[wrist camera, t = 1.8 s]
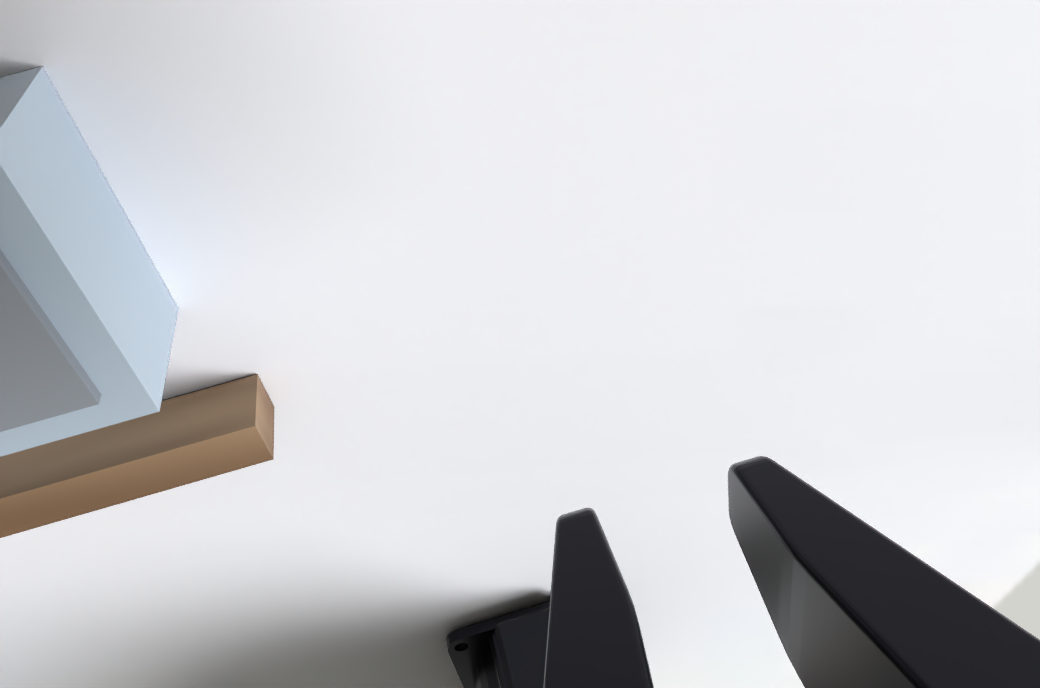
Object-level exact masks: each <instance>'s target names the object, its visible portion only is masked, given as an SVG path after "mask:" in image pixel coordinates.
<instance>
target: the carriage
mask: <svg viewBox="0 0 1040 688" xmlns="http://www.w3.org/2000/svg"><path fill="white" fill-rule="evenodd" d="M177 313H178V306H177V304H176V302H175V301H174V299H173V297H172V295H171V293H170V292H169V290H168V288H167V286H166V285H165V283H164V281H163V279H162V277H161V276H160V274H159V272H158V270H157V269H156V267H155V265H154V263H153V261H152V260H151V258H150V256H149V254H148V253H147V251H146V249H145V247H144V245H143V244H142V242H141V240H140V238H139V236H138V235H137V233H136V231H135V229H134V228H133V226H132V224H131V222H130V220H129V219H128V217H127V215H126V213H125V212H124V210H123V208H122V206H121V204H120V203H119V201H118V199H117V197H116V195H115V194H114V192H113V190H112V188H111V187H110V185H109V183H108V181H107V179H106V178H105V176H104V174H103V172H102V171H101V169H100V167H99V165H98V163H97V162H96V160H95V158H94V156H93V155H92V153H91V151H90V149H89V147H88V146H87V144H86V142H85V140H84V138H83V137H82V135H81V133H80V131H79V130H78V128H77V126H76V124H75V122H74V121H73V119H72V117H71V115H70V114H69V112H68V110H67V108H66V106H65V105H64V103H63V101H62V99H61V98H60V96H59V94H58V92H57V90H56V89H55V87H54V85H53V83H52V81H51V80H50V78H49V76H48V74H47V73H46V71H45V69H44V67H43V66H41V67H37V68H34V69H30V70H26V71H22V72H18V73H14V74H10V75H6V76H3V77H0V457H1V456H5V455H8V454H12V453H15V452H19V451H22V450H26V449H29V448H33V447H36V446H40V445H43V444H47V443H50V442H54V441H57V440H61V439H65V438H68V437H72V436H75V435H79V434H82V433H86V432H89V431H93V430H96V429H100V428H103V427H107V426H110V425H114V424H117V423H121V422H124V421H128V420H131V419H135V418H138V417H142V416H145V415H149V414H153V413H156V412H160V406H161V401H162V395H163V390H164V384H165V379H166V374H167V368H168V363H169V357H170V352H171V346H172V341H173V335H174V330H175V324H176V319H177Z"/></svg>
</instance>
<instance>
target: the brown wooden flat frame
mask: <svg viewBox="0 0 1040 688" xmlns="http://www.w3.org/2000/svg"><path fill="white" fill-rule="evenodd" d="M273 449H274V405H273V404H272V402H271V400H270V398H269V396H268V394H267V392H266V390H265V388H264V386H263V384H262V382H261V380H260V378H259V376H258V374H256V375H253V376H249V377H246V378H242V379H239V380H235V381H231V382H228V383H224V384H221V385H217V386H214V387H210V388H207V389H203V390H200V391H196V392H192V393H189V394H185V395H182V396H178V397H175V398H171V399H168V400H164V401H161V406H160V412H156V413H153V414H149V415H145V416H142V417H138V418H135V419H131V420H128V421H124V422H121V423H117V424H114V425H110V426H107V427H103V428H100V429H96V430H93V431H89V432H86V433H82V434H79V435H75V436H72V437H68V438H65V439H61V440H57V441H54V442H50V443H47V444H43V445H40V446H36V447H33V448H29V449H26V450H22V451H19V452H15V453H12V454H8V455H5V456H1V457H0V538H2V537H5V536H9V535H12V534H16V533H19V532H23V531H26V530H29V529H33V528H36V527H40V526H43V525H47V524H50V523H54V522H57V521H61V520H64V519H68V518H71V517H75V516H78V515H82V514H85V513H88V512H92V511H95V510H99V509H102V508H106V507H109V506H113V505H116V504H120V503H123V502H127V501H130V500H134V499H137V498H140V497H144V496H147V495H151V494H154V493H158V492H161V491H165V490H168V489H172V488H175V487H179V486H182V485H186V484H189V483H193V482H196V481H199V480H203V479H206V478H210V477H213V476H217V475H220V474H224V473H227V472H231V471H234V470H238V469H241V468H245V467H248V466H251V465H255V464H258V463H262V462H265V461H269V460H272V459H273Z"/></svg>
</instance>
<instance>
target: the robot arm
mask: <svg viewBox="0 0 1040 688" xmlns="http://www.w3.org/2000/svg"><path fill="white" fill-rule="evenodd" d="M728 496H729V516H730V520H731V524H732V527H733V530H734V533H735V535H736V537H737V540H738V542H739V544H740V547H741V549H742V551H743V554H744V556H745V558H746V561H747V563H748V565H749V568H750V570H751V572H752V575H753V577H754V579H755V582H756V584H757V586H758V589H759V591H760V593H761V596H762V598H763V600H764V603H765V605H766V607H767V610H768V612H769V614H770V617H771V619H772V621H773V624H774V626H775V628H776V631H777V633H778V635H779V638H780V640H781V642H782V644H783V646H784V649H785V651H786V653H787V655H788V657H789V659H790V661H791V663H792V665H793V667H794V669H795V670H796V672H797V674H798V676H799V678H800V680H801V681H802V683H803V685H804V687H805V688H1040V640H1039V639H1038V638H1036V637H1034V636H1033V635H1032V634H1030V633H1029V632H1027V631H1026V630H1024V629H1023V628H1021V627H1020V626H1018V625H1017V624H1015V623H1014V622H1012V621H1011V620H1009V619H1008V618H1006V617H1005V616H1003V615H1002V614H1000V613H999V612H997V611H996V610H995V609H993V608H992V607H990V606H989V605H987V604H986V603H984V602H983V601H981V600H980V599H978V598H977V597H975V596H974V595H972V594H971V593H969V592H968V591H966V590H965V589H963V588H962V587H960V586H959V585H957V584H956V583H954V582H953V581H951V580H950V579H949V578H947V577H946V576H944V575H943V574H941V573H940V572H938V571H937V570H935V569H934V568H932V567H931V566H929V565H928V564H926V563H925V562H923V561H922V560H920V559H919V558H917V557H916V556H914V555H913V554H911V553H910V552H908V551H907V550H905V549H904V548H902V547H901V546H899V545H898V544H897V543H895V542H894V541H892V540H891V539H889V538H888V537H886V536H885V535H883V534H882V533H880V532H879V531H877V530H876V529H874V528H873V527H871V526H870V525H868V524H867V523H865V522H864V521H862V520H861V519H859V518H858V517H856V516H855V515H853V514H852V513H850V512H849V511H847V510H846V509H845V508H843V507H842V506H840V505H839V504H837V503H836V502H834V501H833V500H831V499H830V498H828V497H827V496H825V495H824V494H822V493H821V492H819V491H818V490H816V489H815V488H813V487H812V486H810V485H809V484H807V483H806V482H804V481H803V480H801V479H800V478H798V477H797V476H795V475H794V474H792V473H791V472H790V471H788V470H787V469H785V468H784V467H782V466H781V465H779V464H778V463H776V462H775V461H773V460H772V459H770V458H768V457H763V456H759V457H755V458H752V459H748V460H745V461H741V462H738V463H735V464H733V465H731V467H730V468H729V471H728ZM446 642H447V648H448V652H449V655H450V657H451V659H452V661H453V664H454V666H455V668H456V670H457V673H458V675H459V677H460V680H461V682H462V684H463V686H464V688H654V686H653V682H652V678H651V674H650V669H649V665H648V661H647V656H646V652H645V648H644V643H643V639H642V635H641V630H640V626H639V622H638V618H637V615H636V611H635V608H634V605H633V602H632V599H631V597H630V594H629V591H628V589H627V586H626V584H625V581H624V579H623V577H622V574H621V572H620V570H619V567H618V565H617V562H616V560H615V558H614V555H613V553H612V551H611V548H610V546H609V543H608V541H607V539H606V536H605V534H604V532H603V529H602V527H601V524H600V522H599V520H598V517H597V515H596V513H595V511H594V510H593V509H591V508H584V509H581V510H577V511H574V512H571V513H567V514H564V515H561V516H560V517H559V518H558V520H557V523H556V533H555V545H554V558H553V571H552V583H551V596H550V602H547V603H544V604H540V605H537V606H534V607H530V608H527V609H524V610H521V611H517V612H514V613H511V614H508V615H504V616H501V617H498V618H494V619H491V620H488V621H485V622H481V623H478V624H475V625H472V626H468V627H465V628H462V629H458V630H456V631H453V632H451V633H450V634H449V635H448V636H447V638H446Z"/></svg>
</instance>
